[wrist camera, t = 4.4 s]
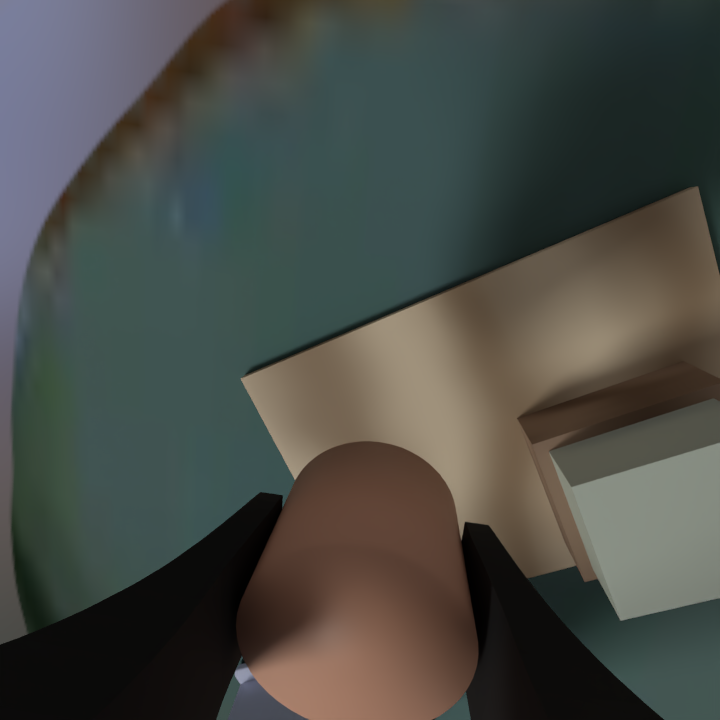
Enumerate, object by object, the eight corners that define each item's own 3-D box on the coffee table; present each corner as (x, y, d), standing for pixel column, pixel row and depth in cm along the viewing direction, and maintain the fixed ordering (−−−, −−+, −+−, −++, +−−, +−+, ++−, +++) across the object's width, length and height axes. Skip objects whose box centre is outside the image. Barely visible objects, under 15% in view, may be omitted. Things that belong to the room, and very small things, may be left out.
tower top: (593, 569, 18) (620, 620, 16) (548, 451, 17) (571, 487, 15) (748, 529, 17) (803, 578, 15) (713, 398, 16) (767, 428, 13)
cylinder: (332, 602, 13) (302, 750, 10) (259, 474, 12) (192, 583, 9) (482, 560, 12) (514, 706, 9) (416, 416, 11) (420, 510, 8)
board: (370, 611, 24) (370, 619, 24) (244, 375, 21) (240, 378, 20) (768, 506, 20) (777, 512, 19) (689, 187, 17) (697, 186, 16)
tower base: (564, 541, 21) (584, 582, 19) (516, 418, 19) (532, 444, 17) (721, 498, 19) (765, 536, 17) (683, 361, 18) (725, 381, 16)
